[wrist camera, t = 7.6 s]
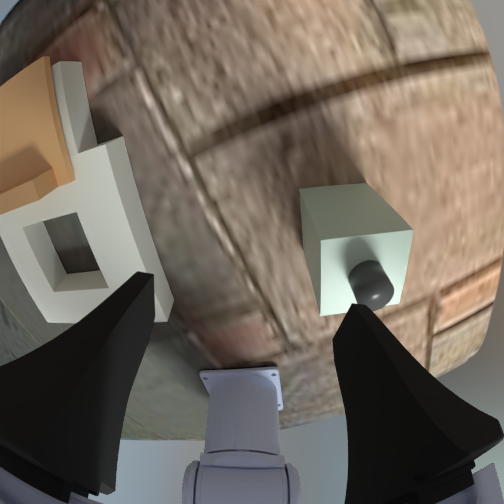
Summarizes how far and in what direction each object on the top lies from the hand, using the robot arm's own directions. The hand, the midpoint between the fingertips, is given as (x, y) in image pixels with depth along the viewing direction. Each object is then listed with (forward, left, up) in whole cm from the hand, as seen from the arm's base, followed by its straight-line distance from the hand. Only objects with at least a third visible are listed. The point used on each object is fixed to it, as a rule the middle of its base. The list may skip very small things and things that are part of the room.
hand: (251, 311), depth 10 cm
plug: (-1, -5, -9) cm, 11 cm away
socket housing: (+3, +14, -9) cm, 17 cm away
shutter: (+9, +14, -7) cm, 18 cm away
